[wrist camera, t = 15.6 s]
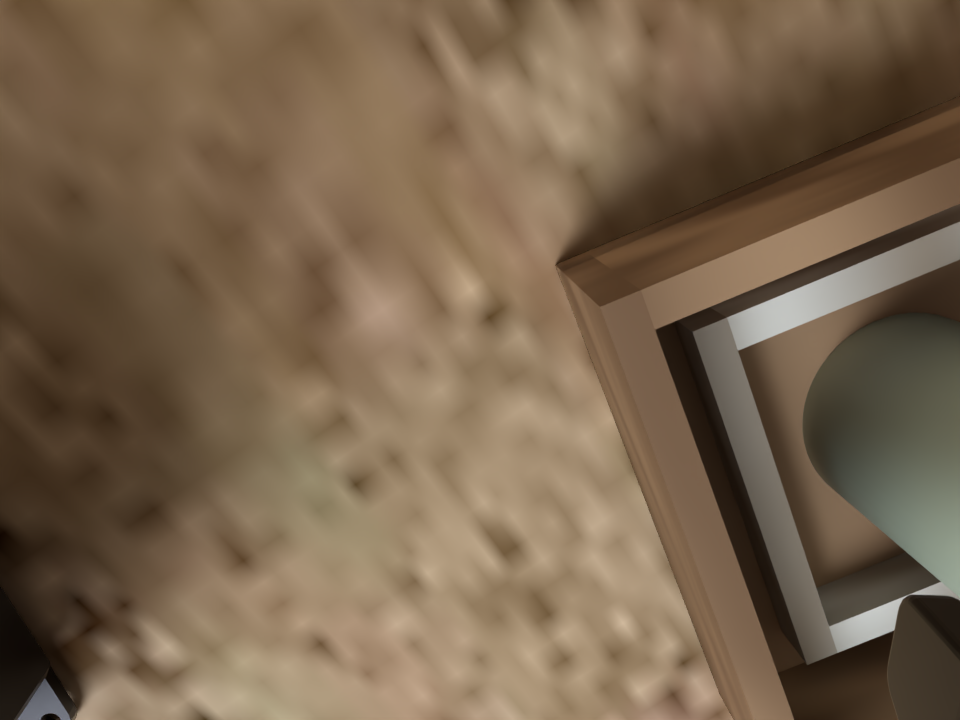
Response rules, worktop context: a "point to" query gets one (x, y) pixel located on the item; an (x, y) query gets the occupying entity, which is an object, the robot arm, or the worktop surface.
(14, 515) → the worktop surface
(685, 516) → the walnut box
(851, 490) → the sage peg
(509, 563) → the worktop surface
